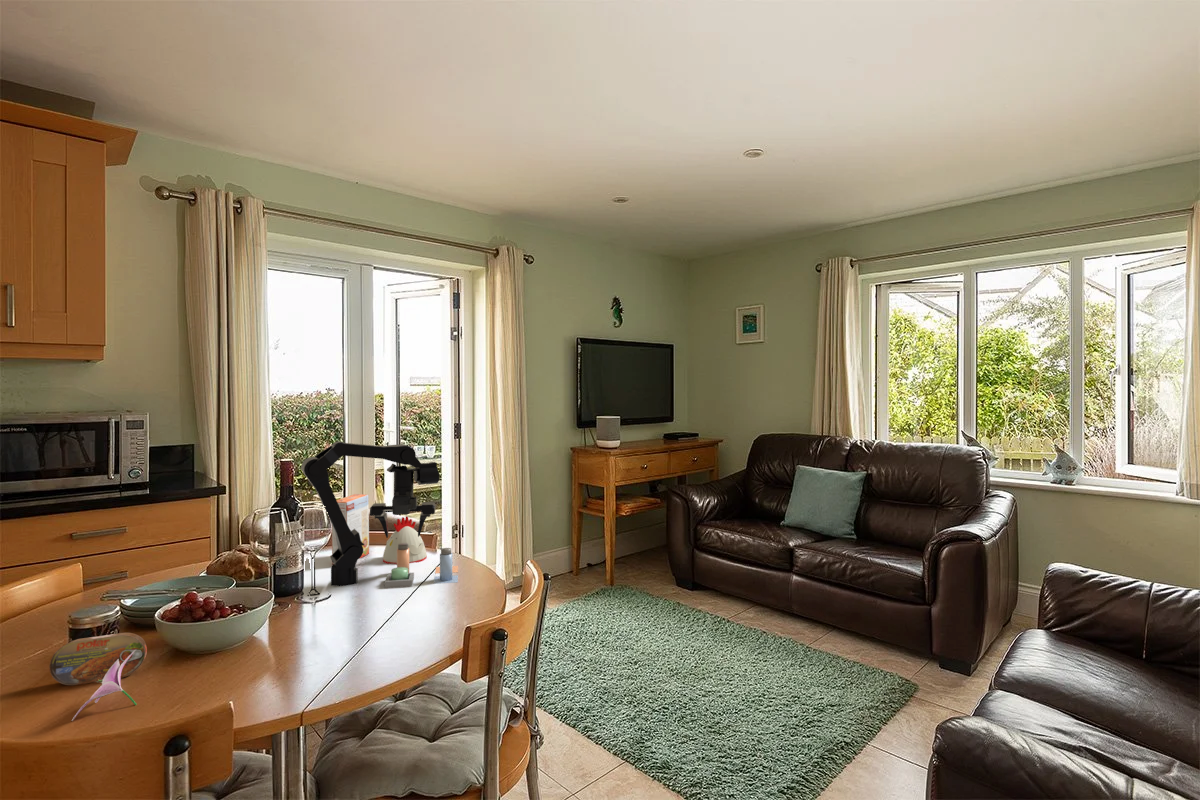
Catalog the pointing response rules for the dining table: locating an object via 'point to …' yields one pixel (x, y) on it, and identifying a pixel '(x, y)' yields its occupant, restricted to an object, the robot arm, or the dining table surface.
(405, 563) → the terracotta marker
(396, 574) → the button
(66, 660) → the tin
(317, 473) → the robot arm
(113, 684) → the lily
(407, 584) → the cream board with squares
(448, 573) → the blue bottle
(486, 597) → the dining table surface
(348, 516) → the cracker box
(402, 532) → the kitchen timer
